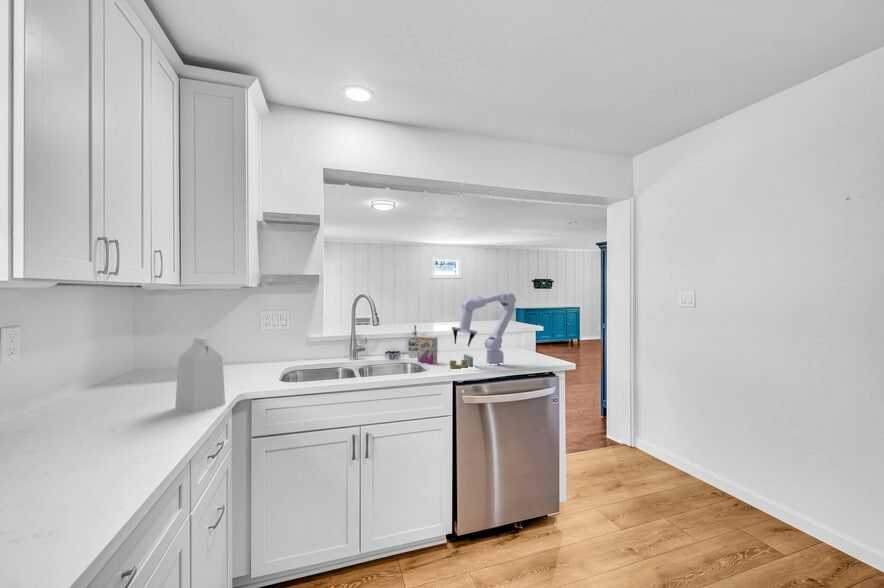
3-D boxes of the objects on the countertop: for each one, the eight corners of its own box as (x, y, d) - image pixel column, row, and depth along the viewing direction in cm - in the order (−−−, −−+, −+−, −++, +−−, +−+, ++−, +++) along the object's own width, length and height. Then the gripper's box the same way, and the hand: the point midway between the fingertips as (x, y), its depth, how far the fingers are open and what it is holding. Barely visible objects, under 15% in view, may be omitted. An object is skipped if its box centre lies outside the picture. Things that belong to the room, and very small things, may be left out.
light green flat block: (466, 364, 220) (466, 354, 220) (472, 368, 210) (472, 357, 210) (463, 364, 219) (463, 354, 219) (469, 368, 210) (469, 357, 210)
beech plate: (466, 368, 208) (466, 359, 208) (467, 369, 207) (467, 360, 207) (449, 369, 206) (449, 360, 205) (450, 370, 204) (450, 361, 204)
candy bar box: (417, 363, 225) (417, 336, 224) (422, 362, 229) (422, 335, 229) (433, 366, 219) (433, 338, 218) (437, 364, 223) (437, 337, 223)
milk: (175, 408, 140) (175, 338, 140) (206, 400, 150) (206, 335, 150) (193, 413, 134) (193, 341, 134) (225, 404, 145) (225, 337, 144)
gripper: (453, 319, 210) (449, 343, 210) (478, 323, 210) (474, 347, 209) (453, 319, 218) (449, 342, 217) (478, 323, 217) (474, 346, 216)
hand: (461, 344), depth 213 cm, fingers open, 7 cm apart
